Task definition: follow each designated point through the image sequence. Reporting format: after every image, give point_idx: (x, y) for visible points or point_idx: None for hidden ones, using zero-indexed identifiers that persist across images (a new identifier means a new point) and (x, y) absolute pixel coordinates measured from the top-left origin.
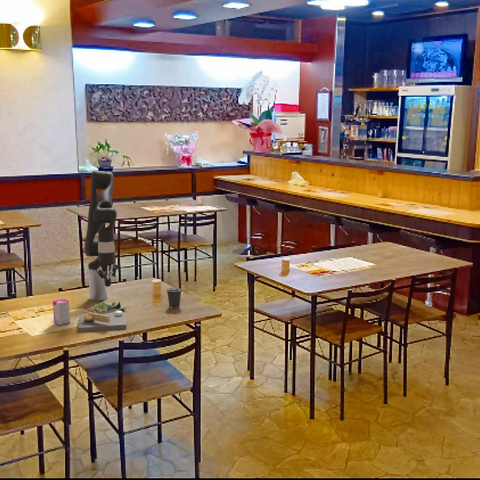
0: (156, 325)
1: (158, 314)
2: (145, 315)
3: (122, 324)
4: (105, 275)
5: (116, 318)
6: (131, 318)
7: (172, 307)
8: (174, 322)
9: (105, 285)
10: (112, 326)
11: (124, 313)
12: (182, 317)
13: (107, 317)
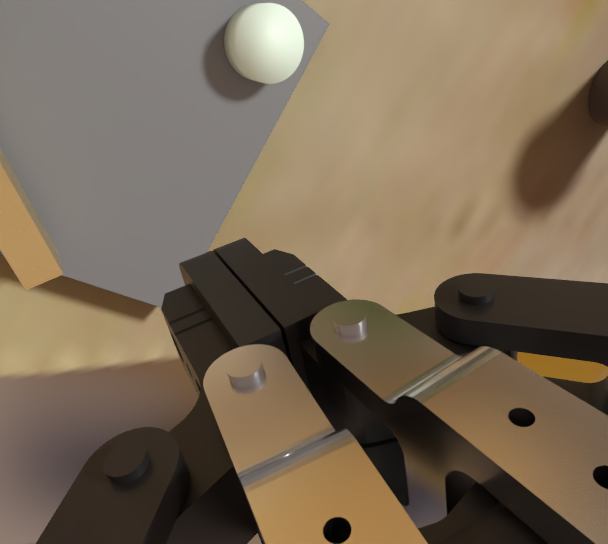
0: None
1: (477, 155)
2: (422, 114)
3: (150, 296)
4: (298, 426)
5: (190, 119)
6: (321, 103)
7: (594, 109)
8: None
9: (182, 274)
10: (63, 271)
11: (318, 36)
12: None
13: (28, 284)
